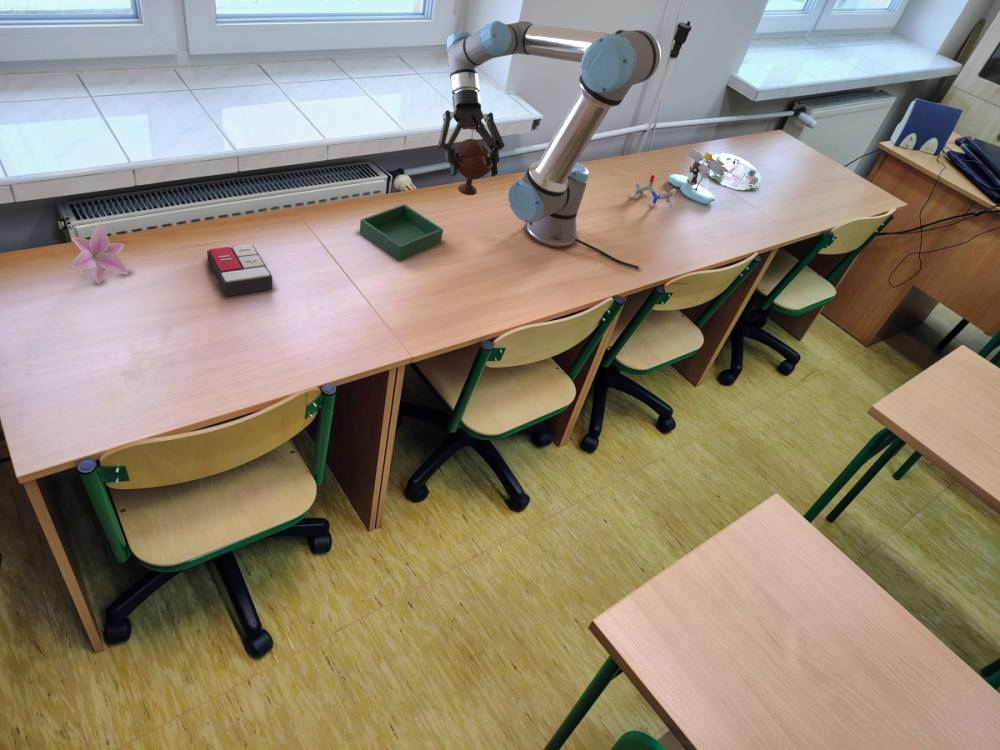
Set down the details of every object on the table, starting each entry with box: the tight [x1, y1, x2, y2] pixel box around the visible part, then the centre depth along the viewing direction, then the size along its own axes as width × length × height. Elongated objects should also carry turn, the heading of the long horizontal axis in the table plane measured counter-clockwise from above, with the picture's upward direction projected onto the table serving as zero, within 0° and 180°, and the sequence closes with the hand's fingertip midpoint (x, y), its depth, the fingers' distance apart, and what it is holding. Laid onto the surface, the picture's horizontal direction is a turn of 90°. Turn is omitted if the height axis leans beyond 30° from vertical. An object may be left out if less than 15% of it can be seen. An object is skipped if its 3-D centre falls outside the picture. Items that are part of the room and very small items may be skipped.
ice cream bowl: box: [455, 138, 493, 196], centre depth 192 cm, size 11×11×15 cm
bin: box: [359, 203, 444, 261], centre depth 194 cm, size 15×16×4 cm
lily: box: [69, 222, 129, 284], centre depth 158 cm, size 12×12×10 cm
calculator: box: [206, 243, 273, 297], centre depth 168 cm, size 11×4×15 cm
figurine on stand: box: [667, 148, 728, 205], centre depth 252 cm, size 20×11×15 cm, turn 30°
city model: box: [703, 152, 763, 191], centre depth 274 cm, size 25×23×6 cm
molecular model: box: [630, 174, 677, 209], centre depth 240 cm, size 18×8×10 cm, turn 42°
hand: (474, 174), depth 191 cm, fingers closed on ice cream bowl, 11 cm apart
